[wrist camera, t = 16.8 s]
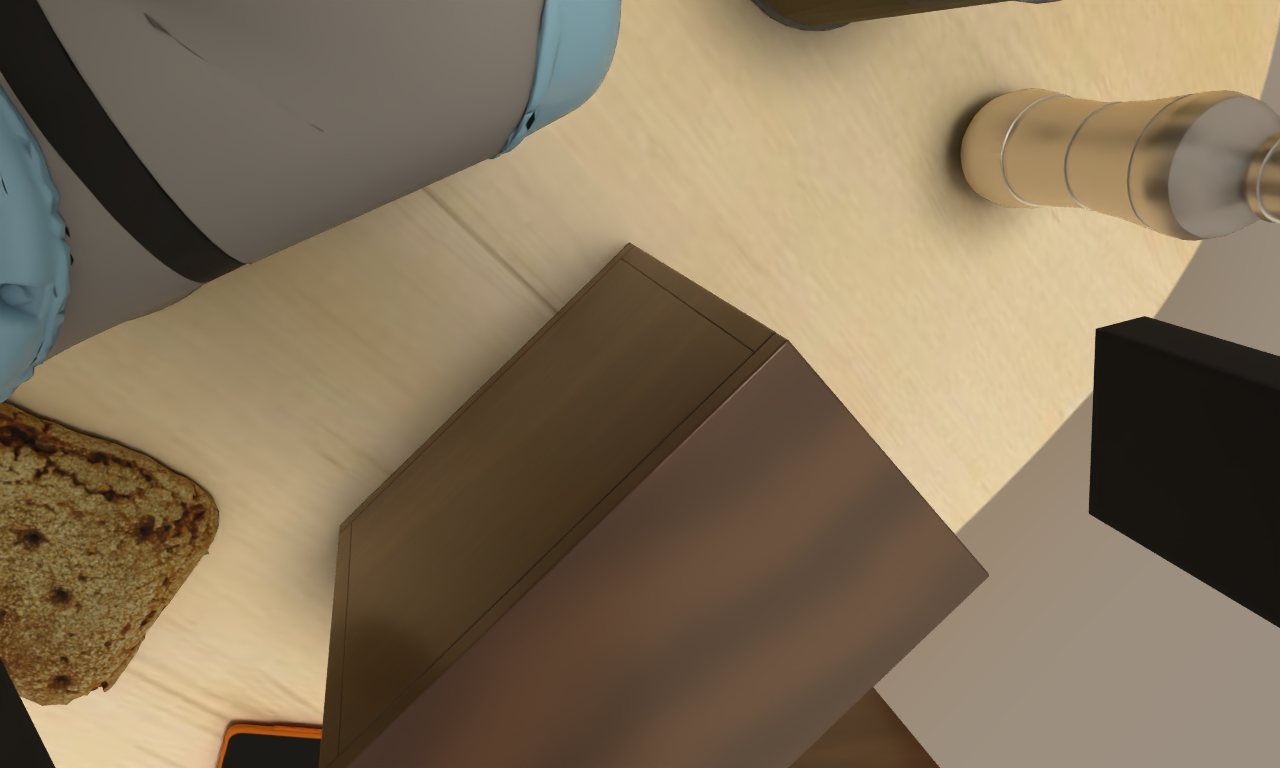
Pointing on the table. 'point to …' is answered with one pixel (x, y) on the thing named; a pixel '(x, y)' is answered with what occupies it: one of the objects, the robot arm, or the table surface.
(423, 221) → the table surface
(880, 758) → the cupboard door
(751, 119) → the table surface
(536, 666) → the cupboard
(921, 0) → the canister
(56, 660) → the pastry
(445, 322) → the table surface
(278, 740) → the smartphone
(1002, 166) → the plastic bottle
